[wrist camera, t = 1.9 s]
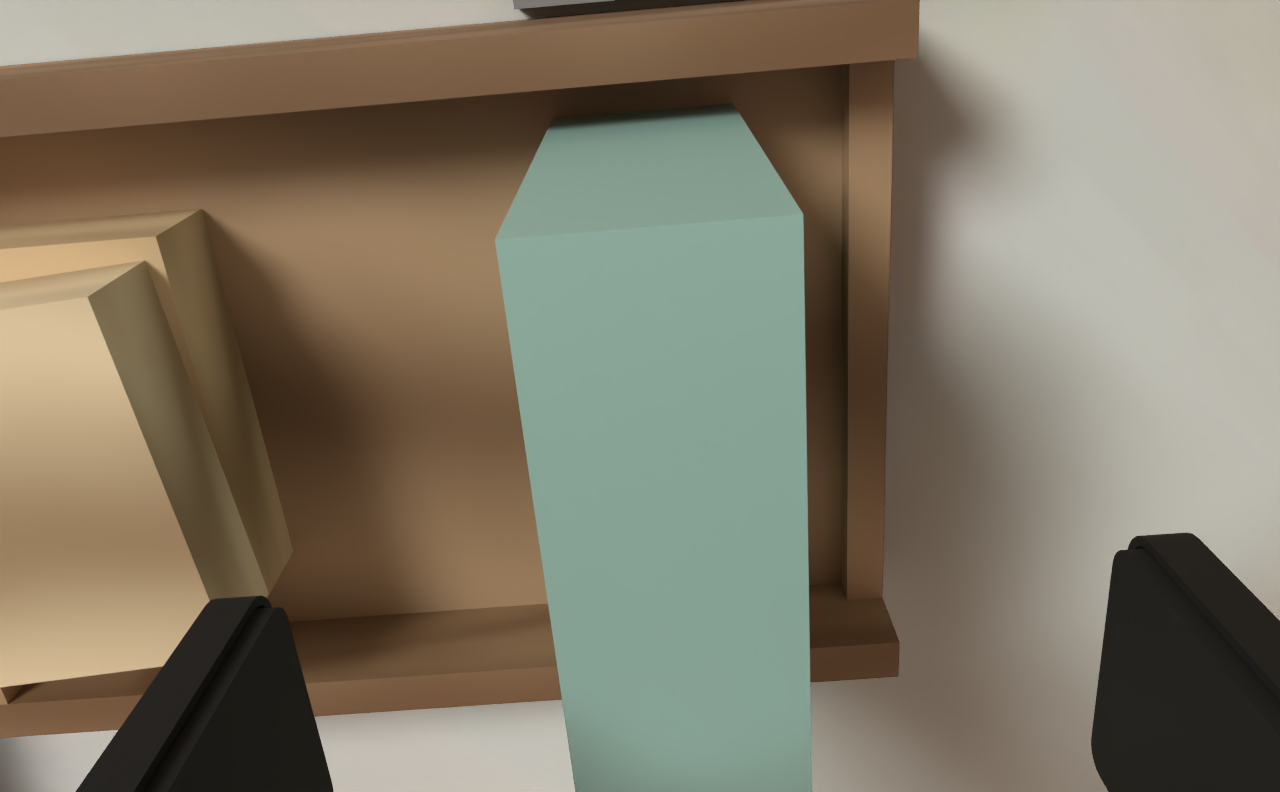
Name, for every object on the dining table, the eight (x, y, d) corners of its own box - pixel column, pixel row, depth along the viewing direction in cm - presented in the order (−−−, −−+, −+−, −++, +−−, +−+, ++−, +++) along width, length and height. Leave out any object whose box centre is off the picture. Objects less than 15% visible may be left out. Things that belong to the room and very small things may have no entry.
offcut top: (-108, 298, 16) (-194, 340, 14) (144, 259, 16) (88, 297, 14) (50, 622, 18) (-7, 688, 17) (268, 593, 18) (232, 656, 17)
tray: (-164, 80, 17) (-326, 107, 14) (870, -11, 17) (919, -2, 14) (58, 635, 22) (-29, 739, 19) (862, 578, 22) (898, 676, 19)
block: (552, 118, 16) (495, 239, 10) (733, 102, 16) (802, 213, 10) (605, 570, 20) (590, 889, 13) (751, 559, 20) (813, 876, 13)
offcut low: (-54, 230, 17) (-126, 259, 16) (201, 208, 17) (155, 236, 15) (74, 567, 20) (24, 622, 18) (293, 551, 20) (263, 605, 18)
